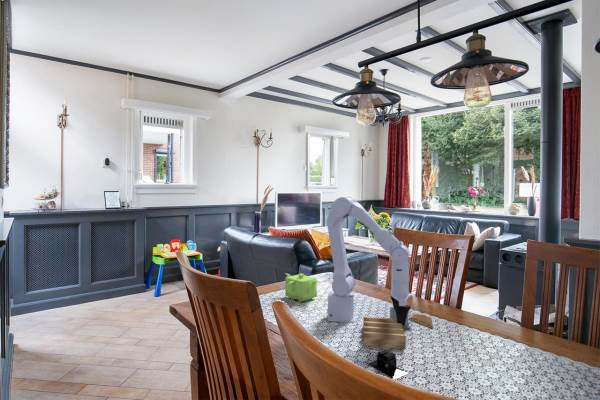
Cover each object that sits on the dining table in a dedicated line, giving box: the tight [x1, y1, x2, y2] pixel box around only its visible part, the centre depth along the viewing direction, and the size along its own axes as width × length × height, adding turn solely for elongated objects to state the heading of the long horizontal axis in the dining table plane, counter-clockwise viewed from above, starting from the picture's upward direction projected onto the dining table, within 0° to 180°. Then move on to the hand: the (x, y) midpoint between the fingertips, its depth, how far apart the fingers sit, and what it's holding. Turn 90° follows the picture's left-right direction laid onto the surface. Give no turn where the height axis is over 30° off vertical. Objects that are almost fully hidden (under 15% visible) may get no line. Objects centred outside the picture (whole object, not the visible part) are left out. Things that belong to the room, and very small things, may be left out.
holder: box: [402, 321, 412, 331], centre depth 122 cm, size 7×5×1 cm
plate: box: [389, 306, 410, 326], centre depth 122 cm, size 6×2×6 cm, turn 81°
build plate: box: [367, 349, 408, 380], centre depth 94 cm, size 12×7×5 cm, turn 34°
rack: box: [362, 316, 407, 349], centre depth 113 cm, size 12×14×4 cm
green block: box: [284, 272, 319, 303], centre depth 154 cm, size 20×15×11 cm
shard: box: [408, 313, 434, 329], centre depth 126 cm, size 11×8×2 cm
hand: (399, 320), depth 122 cm, fingers open, 7 cm apart
